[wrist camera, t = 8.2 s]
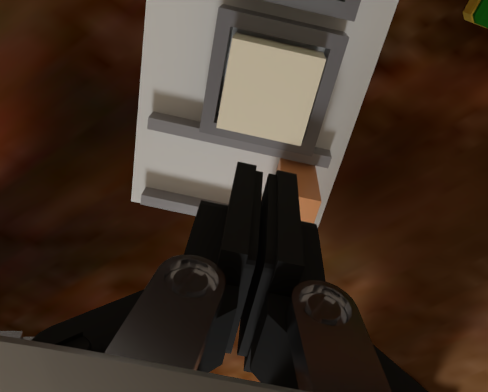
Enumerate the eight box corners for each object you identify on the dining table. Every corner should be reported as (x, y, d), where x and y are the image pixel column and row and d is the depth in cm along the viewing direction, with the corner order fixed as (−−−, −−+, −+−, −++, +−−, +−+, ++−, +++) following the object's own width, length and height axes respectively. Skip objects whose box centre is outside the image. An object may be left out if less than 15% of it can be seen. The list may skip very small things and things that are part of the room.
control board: (439, -153, 22) (474, -178, 18) (311, 221, 34) (315, 255, 30) (176, -219, 21) (152, -259, 17) (140, 185, 33) (122, 215, 29)
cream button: (322, 51, 23) (326, 59, 22) (299, 133, 26) (300, 146, 24) (235, 32, 23) (232, 38, 21) (220, 116, 26) (216, 127, 24)
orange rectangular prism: (314, 164, 28) (321, 201, 24) (297, 217, 30) (301, 260, 26) (280, 156, 28) (280, 192, 24) (265, 210, 30) (263, 252, 26)
